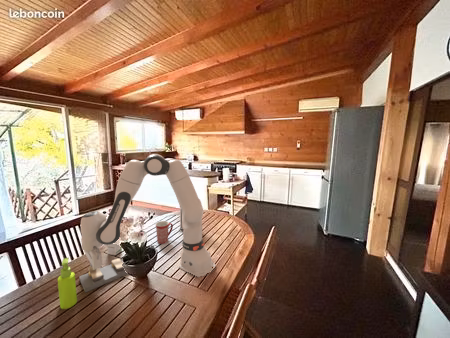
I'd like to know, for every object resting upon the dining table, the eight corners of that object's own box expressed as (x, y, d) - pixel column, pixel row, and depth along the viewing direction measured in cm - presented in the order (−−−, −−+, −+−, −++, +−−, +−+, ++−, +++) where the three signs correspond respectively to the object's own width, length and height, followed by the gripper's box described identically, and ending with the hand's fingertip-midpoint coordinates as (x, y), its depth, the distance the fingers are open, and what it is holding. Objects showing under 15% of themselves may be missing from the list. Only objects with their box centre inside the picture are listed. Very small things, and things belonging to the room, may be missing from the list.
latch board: (134, 270, 112) (134, 266, 111) (85, 292, 95) (84, 287, 95) (126, 261, 120) (125, 257, 120) (79, 279, 103) (79, 274, 103)
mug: (159, 245, 138) (159, 227, 136) (153, 241, 145) (153, 223, 143) (175, 240, 147) (175, 222, 145) (169, 235, 153) (169, 218, 151)
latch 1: (103, 278, 101) (103, 275, 101) (93, 282, 98) (93, 280, 98) (97, 266, 108) (97, 263, 108) (87, 269, 105) (87, 267, 105)
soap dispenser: (77, 295, 94) (74, 255, 91) (76, 305, 88) (72, 263, 85) (61, 300, 91) (57, 258, 88) (59, 311, 85) (54, 267, 82)
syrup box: (115, 255, 126) (114, 233, 124) (107, 254, 127) (106, 232, 125) (121, 250, 131) (120, 229, 129) (113, 249, 132) (112, 228, 130)
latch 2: (126, 268, 109) (126, 266, 109) (117, 272, 106) (117, 269, 106) (119, 259, 116) (119, 257, 116) (111, 262, 113) (110, 260, 113)
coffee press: (201, 229, 166) (201, 193, 161) (183, 234, 155) (183, 197, 151) (190, 222, 179) (190, 189, 175) (173, 226, 169) (173, 192, 164)
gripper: (105, 249, 98) (106, 275, 100) (94, 234, 112) (95, 257, 114) (90, 253, 94) (91, 280, 96) (80, 237, 108) (81, 261, 110)
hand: (93, 267), depth 105 cm, fingers open, 2 cm apart
